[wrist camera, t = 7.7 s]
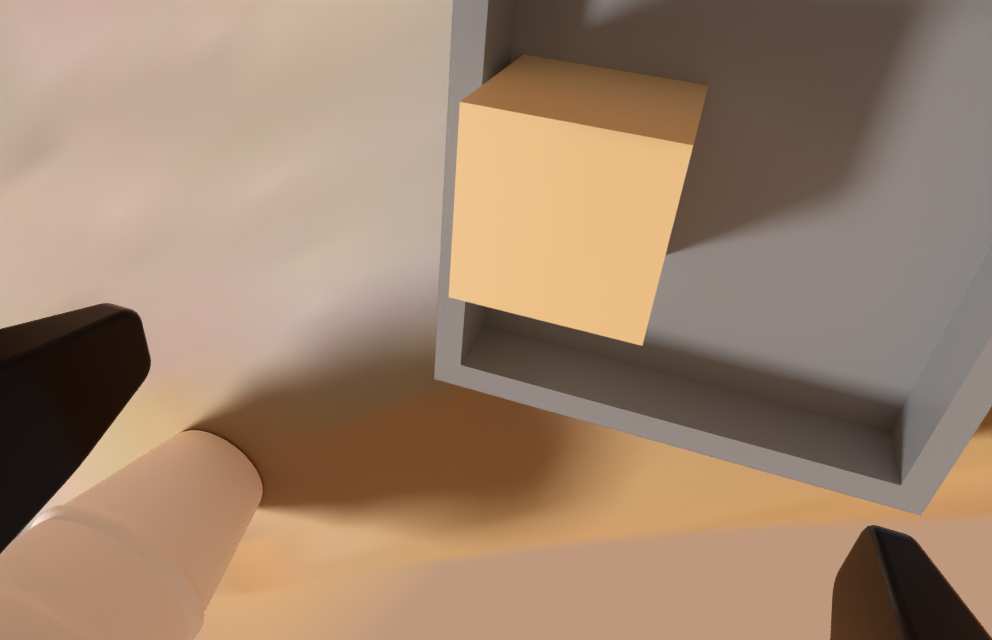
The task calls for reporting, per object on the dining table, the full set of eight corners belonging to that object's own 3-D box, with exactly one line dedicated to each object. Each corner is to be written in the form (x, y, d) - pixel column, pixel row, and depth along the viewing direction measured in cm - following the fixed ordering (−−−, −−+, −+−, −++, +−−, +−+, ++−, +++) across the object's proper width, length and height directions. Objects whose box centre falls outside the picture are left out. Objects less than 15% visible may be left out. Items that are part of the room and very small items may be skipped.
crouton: (506, 220, 17) (448, 297, 14) (523, 54, 15) (459, 101, 12) (665, 255, 17) (642, 345, 13) (708, 85, 14) (693, 145, 11)
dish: (466, 329, 20) (434, 378, 18) (506, -168, 14) (462, -176, 12) (902, 444, 18) (921, 515, 16) (1213, -96, 11) (1313, -90, 9)
